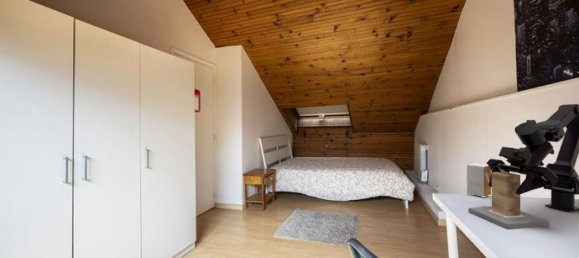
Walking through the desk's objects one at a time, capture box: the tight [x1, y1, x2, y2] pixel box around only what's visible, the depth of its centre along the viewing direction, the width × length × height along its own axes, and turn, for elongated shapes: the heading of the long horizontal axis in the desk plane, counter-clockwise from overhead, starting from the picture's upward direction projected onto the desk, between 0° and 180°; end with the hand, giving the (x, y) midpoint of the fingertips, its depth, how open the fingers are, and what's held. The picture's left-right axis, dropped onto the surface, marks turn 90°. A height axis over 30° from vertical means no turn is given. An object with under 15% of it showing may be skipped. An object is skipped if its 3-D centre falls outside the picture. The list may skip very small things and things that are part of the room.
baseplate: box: [468, 205, 550, 230], centre depth 81 cm, size 14×14×2 cm
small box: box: [466, 162, 492, 198], centre depth 106 cm, size 8×6×13 cm
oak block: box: [491, 172, 521, 216], centre depth 81 cm, size 5×5×13 cm
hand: (502, 189), depth 81 cm, fingers open, 9 cm apart
